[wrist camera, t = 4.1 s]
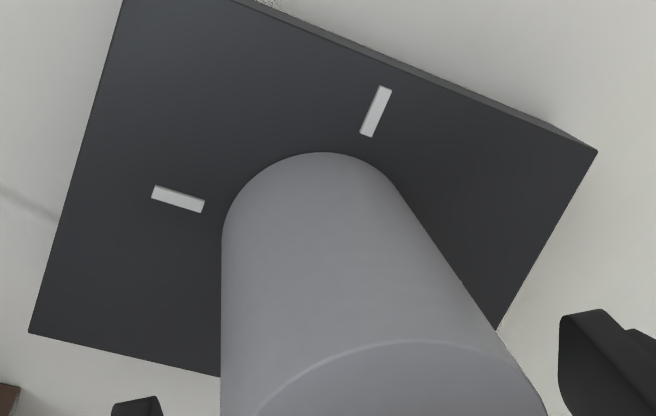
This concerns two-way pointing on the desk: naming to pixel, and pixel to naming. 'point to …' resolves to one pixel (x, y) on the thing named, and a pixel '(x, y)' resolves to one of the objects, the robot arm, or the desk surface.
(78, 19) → the desk surface
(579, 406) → the robot arm
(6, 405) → the stand
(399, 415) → the grey round cylinder
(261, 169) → the dark grey panel
